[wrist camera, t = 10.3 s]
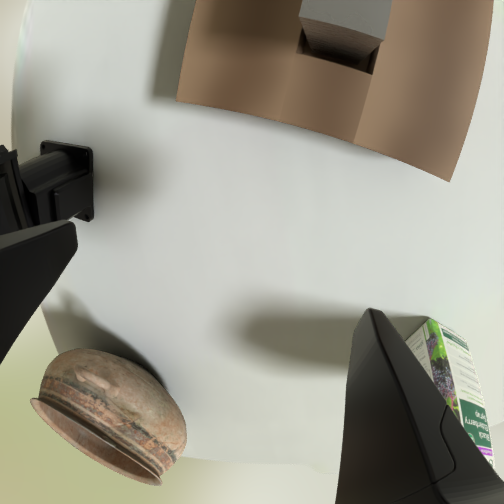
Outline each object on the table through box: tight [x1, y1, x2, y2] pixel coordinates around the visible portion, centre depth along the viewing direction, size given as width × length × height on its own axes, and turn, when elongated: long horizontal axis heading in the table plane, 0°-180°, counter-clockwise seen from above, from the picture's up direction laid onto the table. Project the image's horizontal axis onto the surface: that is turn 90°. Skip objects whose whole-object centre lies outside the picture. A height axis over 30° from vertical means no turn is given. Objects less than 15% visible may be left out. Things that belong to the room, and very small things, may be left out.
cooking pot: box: [30, 349, 187, 486], centre depth 30 cm, size 25×19×12 cm
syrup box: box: [405, 319, 496, 472], centre depth 16 cm, size 6×6×14 cm
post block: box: [176, 0, 494, 182], centre depth 11 cm, size 14×14×4 cm
